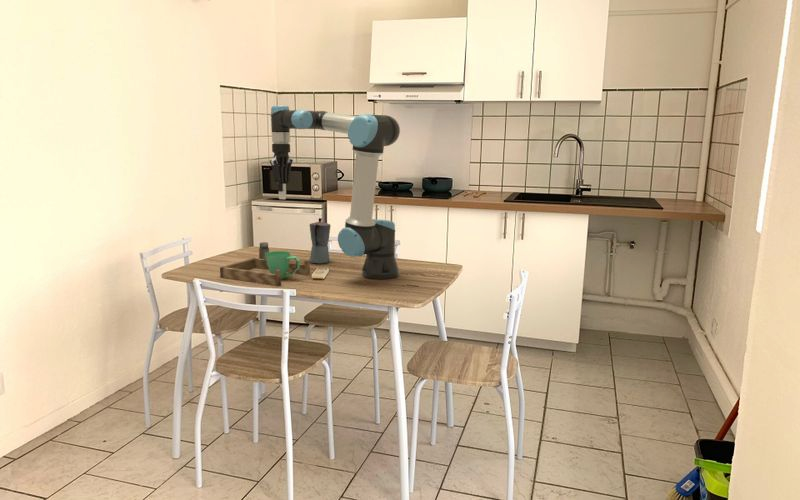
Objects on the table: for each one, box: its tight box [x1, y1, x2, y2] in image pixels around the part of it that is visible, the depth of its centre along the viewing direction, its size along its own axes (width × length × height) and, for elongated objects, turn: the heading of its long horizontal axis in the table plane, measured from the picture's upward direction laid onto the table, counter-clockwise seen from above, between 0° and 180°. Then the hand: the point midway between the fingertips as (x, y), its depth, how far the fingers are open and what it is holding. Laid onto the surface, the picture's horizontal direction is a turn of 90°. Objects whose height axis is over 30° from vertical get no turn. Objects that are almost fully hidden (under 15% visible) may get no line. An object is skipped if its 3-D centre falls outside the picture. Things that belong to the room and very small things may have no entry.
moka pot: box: [309, 217, 331, 264], centre depth 265 cm, size 10×15×20 cm, turn 179°
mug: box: [265, 250, 301, 280], centre depth 237 cm, size 15×10×10 cm
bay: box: [219, 241, 311, 287], centre depth 243 cm, size 29×25×10 cm
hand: (282, 198), depth 254 cm, fingers closed
